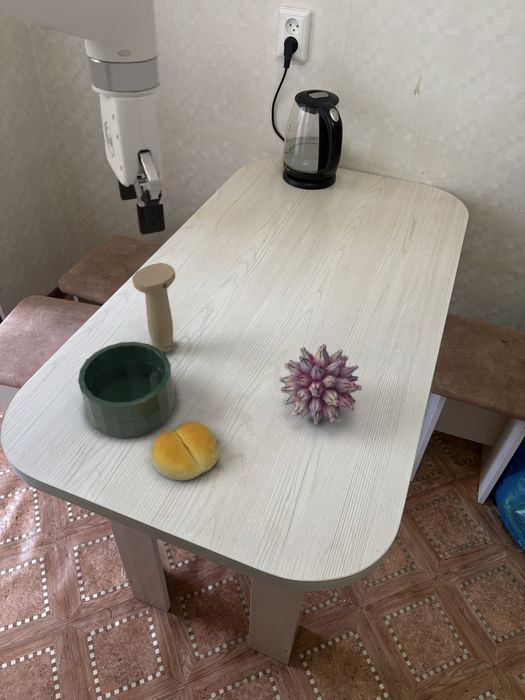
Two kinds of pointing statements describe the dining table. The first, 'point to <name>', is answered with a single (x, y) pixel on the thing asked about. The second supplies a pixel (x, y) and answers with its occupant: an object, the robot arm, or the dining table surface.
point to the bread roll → (185, 451)
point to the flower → (320, 384)
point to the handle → (157, 302)
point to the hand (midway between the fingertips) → (142, 214)
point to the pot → (127, 389)
